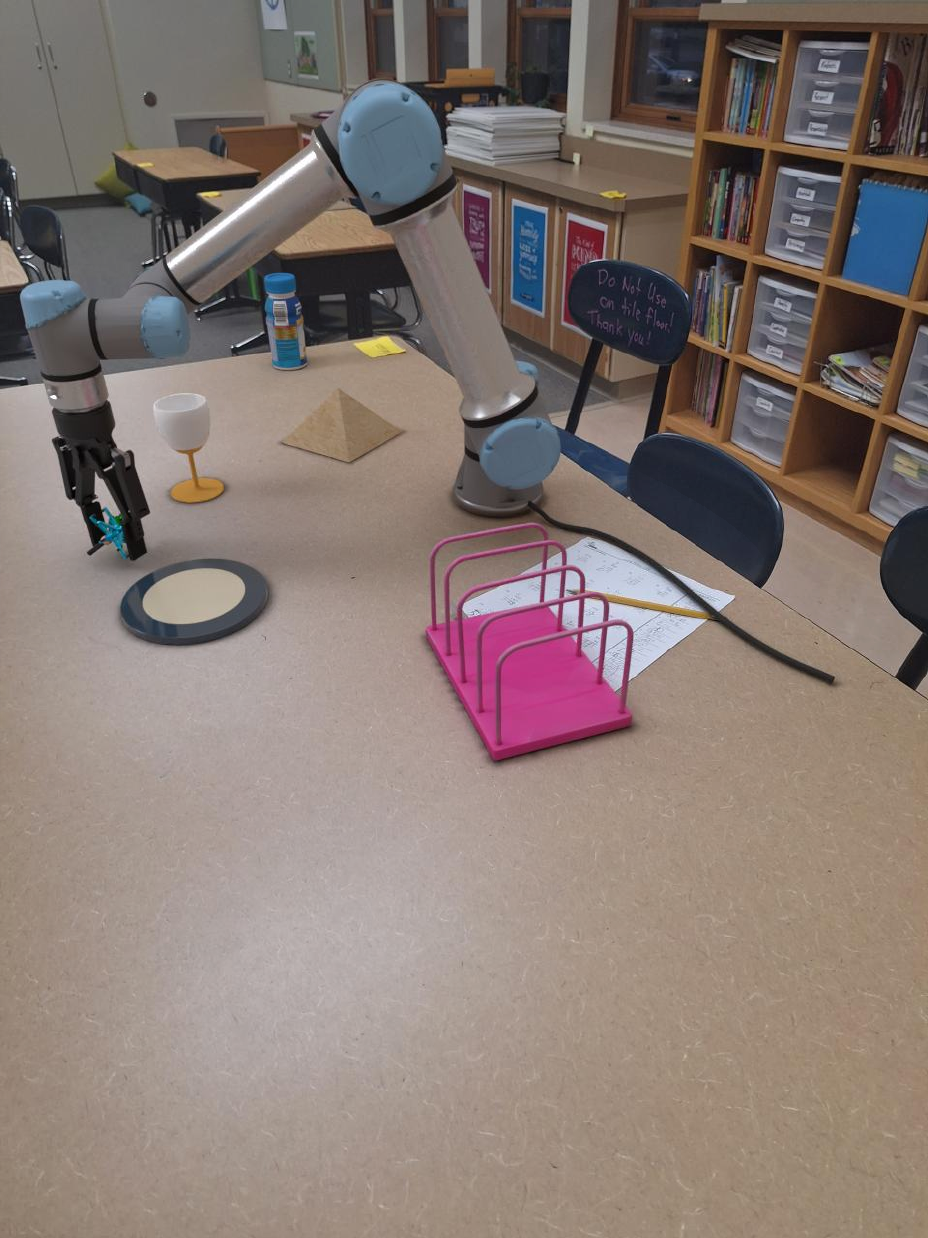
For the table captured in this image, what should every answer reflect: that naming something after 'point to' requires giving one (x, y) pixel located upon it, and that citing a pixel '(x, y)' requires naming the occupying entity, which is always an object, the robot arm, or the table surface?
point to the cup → (187, 440)
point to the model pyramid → (341, 429)
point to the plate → (194, 601)
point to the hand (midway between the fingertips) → (119, 549)
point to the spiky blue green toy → (110, 533)
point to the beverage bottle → (284, 322)
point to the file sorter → (527, 662)
